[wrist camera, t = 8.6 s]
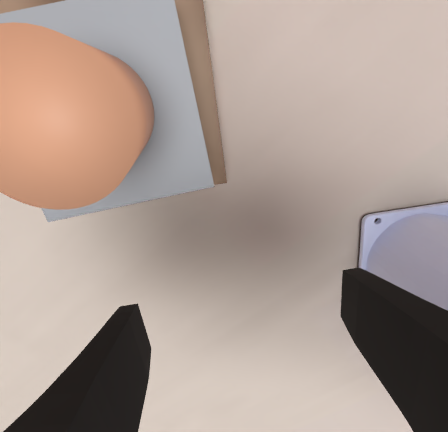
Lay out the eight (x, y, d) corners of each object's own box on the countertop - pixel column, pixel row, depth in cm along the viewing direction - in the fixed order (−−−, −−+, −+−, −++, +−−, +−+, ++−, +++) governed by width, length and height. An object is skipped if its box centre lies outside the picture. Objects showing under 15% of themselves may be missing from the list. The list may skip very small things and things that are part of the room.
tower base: (198, -7, 15) (198, -32, 12) (222, 171, 19) (226, 182, 16) (14, 17, 15) (-29, -4, 12) (75, 193, 19) (54, 209, 16)
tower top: (175, 6, 13) (169, -21, 10) (211, 172, 16) (214, 186, 13) (5, 41, 13) (-48, 23, 10) (74, 201, 16) (47, 222, 13)
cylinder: (146, 48, 11) (118, 21, 6) (160, 161, 13) (147, 203, 8) (24, 51, 10) (-102, 23, 6) (58, 167, 12) (-17, 215, 8)
